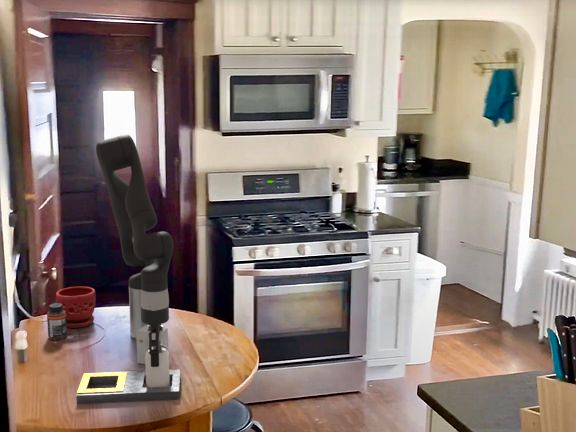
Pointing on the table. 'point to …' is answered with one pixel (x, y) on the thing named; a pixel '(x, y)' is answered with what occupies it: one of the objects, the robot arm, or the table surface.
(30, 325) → the table surface
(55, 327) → the supplement bottle
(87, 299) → the plant pot
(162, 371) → the can
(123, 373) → the grey slotted tray
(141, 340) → the small box
